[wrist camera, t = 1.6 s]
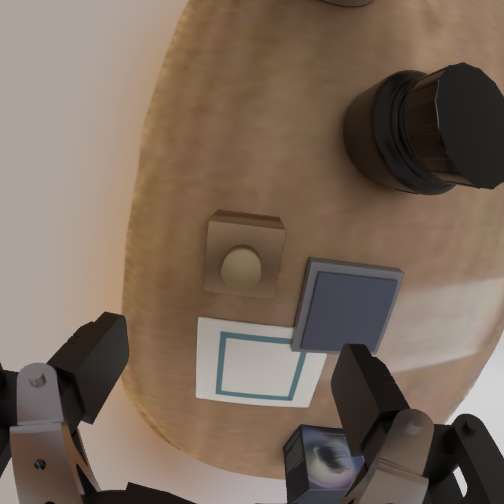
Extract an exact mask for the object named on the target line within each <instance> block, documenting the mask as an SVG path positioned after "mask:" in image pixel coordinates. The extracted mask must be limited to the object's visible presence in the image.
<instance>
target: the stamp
mask: <svg viewBox="0 0 504 504" xmlns="http://www.w3.org/2000/svg"><path fill="white" fill-rule="evenodd" d="M285 231H286V230H285V228H284V226H283V224H282V222H281V220H280V217H273V216H265V215H257V214H249V213H241V212H233V211H224V210H218V211H217V212H216V213H215V214H214V215H213V216H212V218H211V219H210V220H209V223H208V234H207V245H206V258H205V271H204V285H203V291H206V292H213V293H221V294H228V295H236V296H244V297H253V298H261V299H270V300H274V298H275V292H276V286H277V280H278V274H279V268H280V262H281V256H282V250H283V244H284V237H285Z"/></svg>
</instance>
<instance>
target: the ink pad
mask: <svg viewBox="0 0 504 504" xmlns="http://www.w3.org/2000/svg"><path fill="white" fill-rule="evenodd" d="M403 275H404V272H402V271H401V270H400V269H399V268H391V267H384V266H376V265H368V264H360V263H352V262H344V261H336V260H329V259H321V258H313V257H309V259H308V264H307V270H306V275H305V280H304V284H303V289H302V294H301V299H300V303H299V308H298V312H297V317H296V321H295V326H294V332H293V337H292V342H291V345H290V346H291V352H306V353H326V354H340V353H341V350H342V347H343V345H344V344H346V343H349V344H365V345H366V346H367V348H368V350H369V351H370V353H371V354H376V353H377V351H378V348H379V346H380V343H381V340H382V338H383V335H384V333H385V330H386V327H387V324H388V322H389V319H390V316H391V313H392V310H393V307H394V304H395V301H396V298H397V295H398V292H399V288H400V285H401V282H402V278H403Z"/></svg>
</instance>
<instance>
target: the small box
mask: <svg viewBox="0 0 504 504" xmlns="http://www.w3.org/2000/svg"><path fill="white" fill-rule="evenodd" d="M283 451H284V463H285V476H286V487H287V504H291V503H299V504H338V503H339V501H340V500H341V498H342V497H343V495H344V494H345V492H346V491H347V489H348V487H349V486H350V484H351V482H352V481H353V479H354V477H355V476H356V474H357V472H358V470H359V469H360V467H361V465H362V464H363V462H364V461H365V459H364V456H356V457H351V454H350V451H349V447H348V444H347V440H346V437H345V433H344V430H343V429H335V428H325V427H316V426H308V425H300V426H299V427H298V429H297V430H296V431H295V432H294V434H293V435H292V436H291V438H290V439H289V440H288V442H287V443H286V444H285V445H284V447H283Z"/></svg>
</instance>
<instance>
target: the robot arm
mask: <svg viewBox="0 0 504 504" xmlns="http://www.w3.org/2000/svg"><path fill="white" fill-rule="evenodd" d="M323 1H325V2H329V3H332V4H336V5H342V6H362V5H365V4H368V3H370V2H372V1H373V0H323ZM128 358H129V345H128V336H127V326H126V319H125V317H124V316H123V315H119V314H114V313H109V312H104V313H103V314H102V315H101V316H100V317H99V318H98V319H97V320H96V321H95V322H89V323H88V324H85V325H83V326H81V327H80V328H79V329H78V330H77V331H76V332H75V333H74V334H73V336H71V337H70V338H69V339H68V341H67V343H65V344H64V345H63V346H62V347H61V348H60V349H59V350H58V351H57V352H56V353H55V354H54V355H53V357H52V358H51V359H50V360H49V361H48V362H47V363H46V364H44V363H33V364H30V365H27V366H25V367H24V368H23V369H21V371H20V372H14V371H8V370H3V368H2V366H1V363H0V477H1V475H2V473H3V471H4V469H5V468H6V466H7V464H8V462H9V460H10V458H11V456H12V464H13V470H14V477H15V483H16V488H17V493H18V498H19V502H20V504H196V503H193V502H191V501H188V500H185V499H183V498H181V497H178V496H176V495H173V494H171V493H169V492H165V491H160V490H156V489H152V488H148V487H145V486H141V485H137V484H134V483H131V482H128V485H127V488H126V490H105V491H101V489H100V487H99V485H98V483H97V481H96V479H95V477H94V475H93V472H92V470H91V467H90V464H89V462H88V458H87V455H86V452H85V449H84V446H83V442H82V439H81V436H80V432H79V429H78V427H77V426H78V425H79V423H80V421H81V420H82V421H84V422H86V423H89V424H93V423H94V421H95V419H96V417H97V415H98V413H99V412H100V410H101V408H102V406H103V404H104V403H105V401H106V399H107V397H108V395H109V394H110V392H111V390H112V389H113V387H114V385H115V383H116V382H117V380H118V378H119V377H120V375H121V373H122V371H123V370H124V368H125V366H126V365H127V362H128ZM331 390H332V394H333V397H334V400H335V403H336V407H337V410H338V413H339V417H340V420H341V423H342V427H343V430H344V433H345V437H346V440H347V444H348V447H349V451H350V454H351V457H356V456H364V459H365V461H364V462H363V464H362V465H361V467H360V469H359V470H358V472H357V474H356V476H355V477H354V479H353V481H352V482H351V484H350V486H349V487H348V489H347V491H346V492H345V494H344V495H343V497H342V498H341V500H340V501H339V503H338V504H504V458H503V456H502V454H501V452H500V451H499V449H498V447H497V445H496V444H495V442H494V440H493V439H492V437H491V435H490V434H489V432H488V430H487V429H486V427H485V425H484V424H483V422H482V421H481V420H480V419H479V418H477V417H475V416H474V415H471V414H461V415H459V416H458V417H457V418H456V419H455V420H454V422H453V423H452V425H441V424H433V422H432V420H431V418H430V417H429V416H428V415H427V414H425V413H424V412H422V411H419V410H416V409H410V407H409V405H408V403H407V401H406V400H405V398H404V396H403V394H402V393H401V391H400V389H399V387H398V386H397V384H396V383H395V380H394V379H393V377H392V376H391V374H390V372H389V370H388V368H387V367H386V365H385V364H384V363H383V362H381V361H380V360H379V359H378V358H377V357H372V355H371V353H370V351H369V350H368V348H367V346H366V345H365V344H349V343H346V344H344V345H343V347H342V350H341V353H340V356H339V358H338V361H337V364H336V367H335V370H334V372H333V375H332V380H331ZM458 466H459V467H460V469H461V472H462V474H463V476H464V478H465V481H466V483H467V487H468V488H467V493H466V495H465V497H464V498H463V495H462V493H461V490H460V488H459V485H458V483H457V480H456V478H455V476H454V474H453V471H454V470H455V469H456V468H457V467H458ZM291 504H299V503H291Z"/></svg>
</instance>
